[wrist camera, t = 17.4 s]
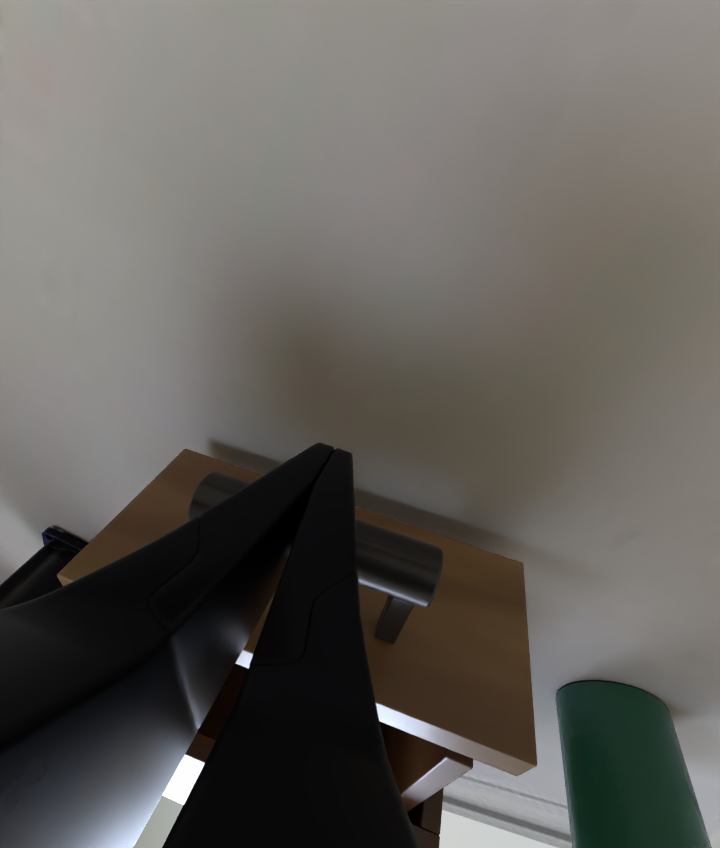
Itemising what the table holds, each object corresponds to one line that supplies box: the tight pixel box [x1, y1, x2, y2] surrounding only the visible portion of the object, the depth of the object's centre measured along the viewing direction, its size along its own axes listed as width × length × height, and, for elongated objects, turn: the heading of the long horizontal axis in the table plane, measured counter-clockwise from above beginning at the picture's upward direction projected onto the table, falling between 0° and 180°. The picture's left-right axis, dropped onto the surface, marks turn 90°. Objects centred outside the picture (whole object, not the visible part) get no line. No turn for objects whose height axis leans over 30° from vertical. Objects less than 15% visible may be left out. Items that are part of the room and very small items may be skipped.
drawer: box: [57, 449, 537, 812], centre depth 16 cm, size 19×13×6 cm
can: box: [556, 681, 712, 848], centre depth 16 cm, size 5×5×8 cm
